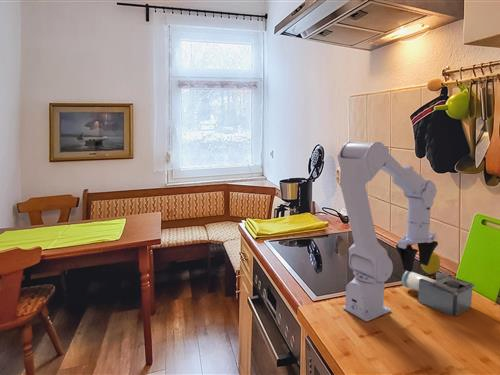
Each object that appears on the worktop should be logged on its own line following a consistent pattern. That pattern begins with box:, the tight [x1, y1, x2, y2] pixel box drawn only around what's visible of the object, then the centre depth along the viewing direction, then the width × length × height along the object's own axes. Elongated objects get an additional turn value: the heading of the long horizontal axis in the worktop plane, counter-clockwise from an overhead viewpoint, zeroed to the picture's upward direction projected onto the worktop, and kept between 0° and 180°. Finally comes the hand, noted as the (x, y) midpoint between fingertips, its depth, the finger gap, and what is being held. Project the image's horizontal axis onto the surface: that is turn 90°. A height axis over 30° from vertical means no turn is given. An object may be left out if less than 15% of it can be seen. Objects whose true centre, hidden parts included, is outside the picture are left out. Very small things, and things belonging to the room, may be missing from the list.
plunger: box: [447, 280, 460, 289], centre depth 86 cm, size 3×3×2 cm
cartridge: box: [401, 270, 436, 292], centre depth 94 cm, size 10×5×5 cm, turn 31°
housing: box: [417, 271, 476, 317], centre depth 88 cm, size 10×9×6 cm
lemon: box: [420, 251, 441, 276], centre depth 107 cm, size 6×6×8 cm
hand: (415, 267), depth 95 cm, fingers open, 7 cm apart
